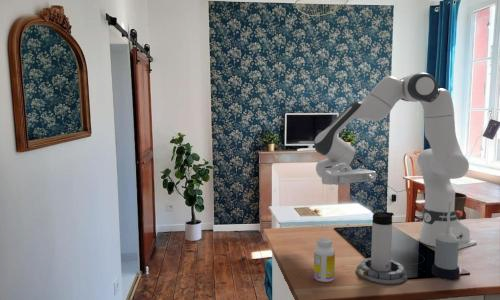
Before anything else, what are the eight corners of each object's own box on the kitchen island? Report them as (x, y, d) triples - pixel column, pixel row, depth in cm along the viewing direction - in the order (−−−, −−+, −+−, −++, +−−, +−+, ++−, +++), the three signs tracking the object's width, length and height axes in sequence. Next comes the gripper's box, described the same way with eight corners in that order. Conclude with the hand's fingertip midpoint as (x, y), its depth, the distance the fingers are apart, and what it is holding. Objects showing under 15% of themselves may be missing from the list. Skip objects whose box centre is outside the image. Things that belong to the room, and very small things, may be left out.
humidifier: (463, 281, 120) (467, 205, 117) (436, 279, 121) (439, 204, 118) (454, 270, 128) (458, 199, 125) (428, 269, 129) (432, 198, 126)
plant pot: (430, 230, 172) (431, 196, 170) (428, 221, 185) (429, 190, 184) (467, 234, 166) (469, 199, 164) (462, 224, 180) (464, 192, 178)
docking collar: (386, 262, 135) (386, 254, 135) (418, 280, 120) (418, 271, 119) (347, 267, 130) (347, 259, 130) (376, 287, 115) (376, 278, 115)
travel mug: (392, 275, 121) (395, 215, 119) (371, 273, 123) (373, 214, 121) (390, 267, 127) (392, 210, 125) (369, 266, 129) (371, 209, 127)
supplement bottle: (335, 275, 124) (336, 238, 123) (333, 284, 118) (334, 244, 116) (315, 272, 126) (316, 236, 125) (312, 281, 120) (312, 242, 118)
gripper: (363, 179, 150) (385, 186, 137) (318, 184, 144) (336, 191, 131) (364, 164, 150) (386, 169, 136) (318, 168, 144) (336, 173, 131)
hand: (361, 180), depth 134 cm, fingers open, 8 cm apart
